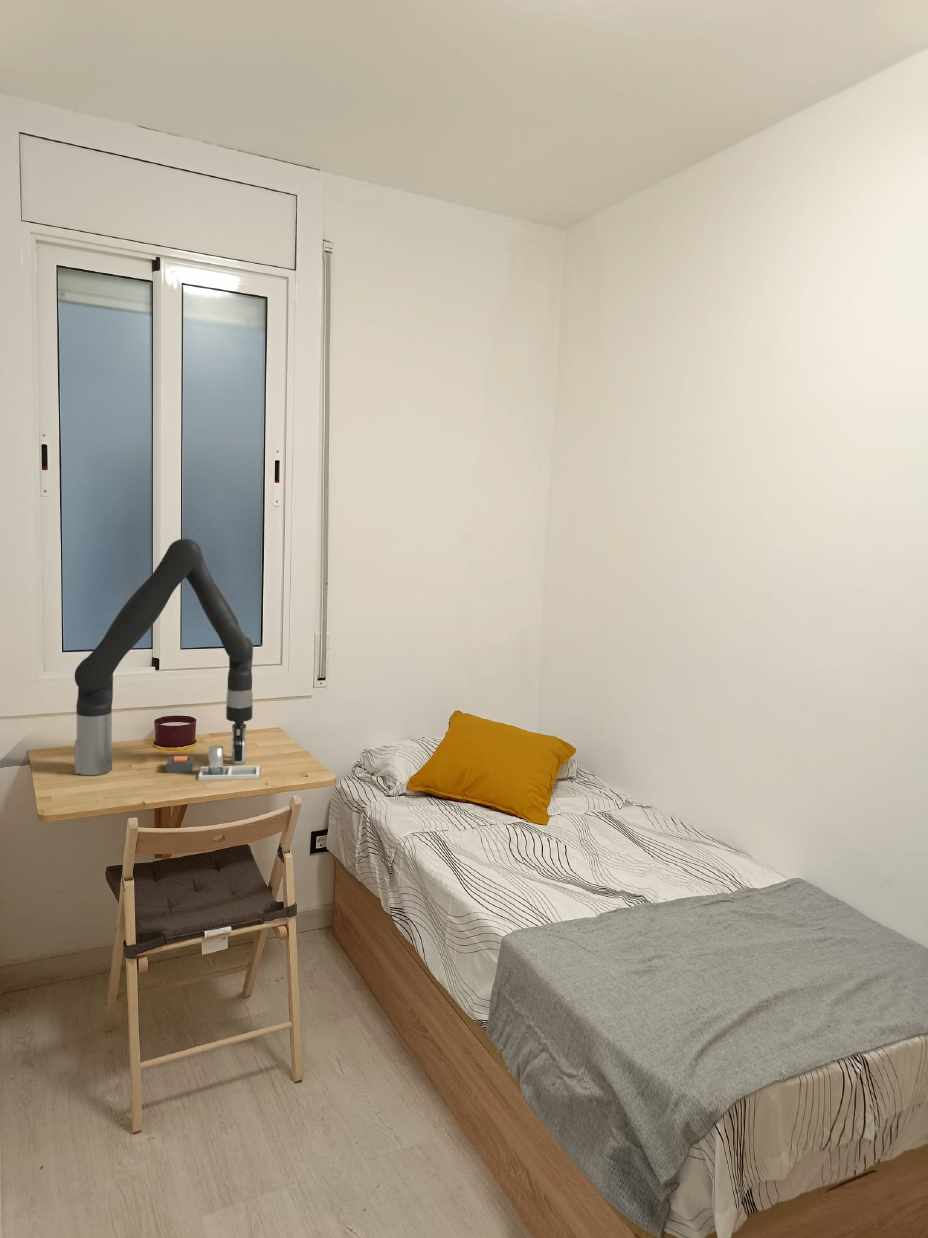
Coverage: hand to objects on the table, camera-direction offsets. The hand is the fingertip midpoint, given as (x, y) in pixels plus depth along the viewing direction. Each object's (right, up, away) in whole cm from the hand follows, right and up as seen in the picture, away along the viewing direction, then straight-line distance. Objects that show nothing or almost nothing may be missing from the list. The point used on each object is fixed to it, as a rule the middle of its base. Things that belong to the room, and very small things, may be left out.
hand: (238, 756), depth 251 cm
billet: (0, -2, 0) cm, 2 cm away
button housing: (-15, -3, -8) cm, 17 cm away
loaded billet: (-4, -3, -11) cm, 12 cm away
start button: (-15, -1, -8) cm, 17 cm away
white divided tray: (0, -4, -10) cm, 11 cm away
